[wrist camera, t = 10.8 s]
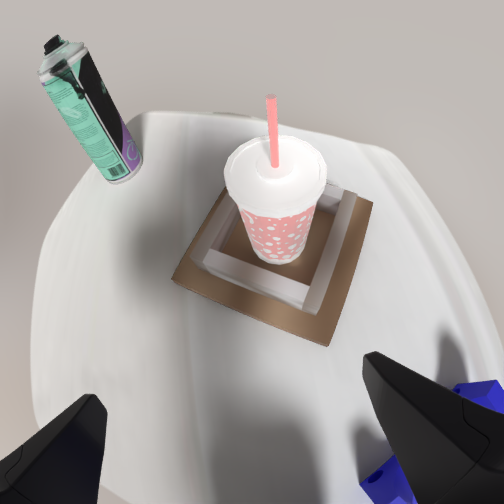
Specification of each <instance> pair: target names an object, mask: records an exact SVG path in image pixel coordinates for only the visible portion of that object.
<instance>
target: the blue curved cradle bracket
mask: <svg viewBox="0 0 504 504" xmlns="http://www.w3.org/2000/svg"><path fill="white" fill-rule="evenodd" d="M452 391H453V392H455V393H457V394H459V395H461V396H462V397H465V398H467V399H469V400H471V401H473V402H475V403H477V404H480V405H482V406H484V407H486V408H489V409H492V410H494V411H497V412H500V413H503V414H504V390H503V389H502V387H501V385H500V384H499V382H498V381H497V380H490V381H482V382H473V383H463V384H457V385H456V386H455V388H454V389H453V390H452ZM359 485H360V486H361V487H362V489H363V490H364V491H365V492H366V494H367V495H368V496H369V497H370V499H371V500H372V501H373V502H374V504H417V501H416V499H415V497H414V495H413V492H412V490H411V488H410V486H409V484H408V481H407V479H406V477H405V475H404V473H403V471H402V468H401V466H400V464H399V462H398V460H397V458H396V456H395V454H394V455H393V456H392V457H391V458H390V459H389V460H388V461H387V462H386V463H385V464H383V465H382V466H381V467H380V468H379V469H378V470H376V471H375V472H374V473H373V474H372V475H370V476H369V477H368V478H367V479H365V480H364V481H363V482H362V483H360V484H359Z"/></svg>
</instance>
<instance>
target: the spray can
mask: <svg viewBox="0 0 504 504" xmlns="http://www.w3.org/2000/svg"><path fill="white" fill-rule="evenodd" d="M44 48H45V53H44V54H45V55H44V57H43V58H44V59H45V60H44V61H43V63H42V65H41V68H40V70H39V71H38V72H37V74H38V75H39V76H40V81H41V83H42V85H43V86H44V88H45V90H46V91H47V93H48V95H49V96H50V98H51V100H52V101H53V103H54V104H55V106H56V108H57V109H58V111H59V112H60V113H61V115H62V117H63V118H64V120H65V122H66V123H67V125H68V126H69V127H70V129H71V131H72V132H73V134H74V135H75V137H76V138H77V139H78V141H79V142H80V144H81V145H82V147H83V148H84V149H85V151H86V152H87V154H88V155H89V157H90V158H91V160H92V161H93V162H94V164H95V165H96V166H97V168H98V169H99V171H100V172H101V173H102V175H103V176H104V177H105V179H106V180H107V181H108V182H109V183H111V184H121V183H123V182H126V181H127V180H129V179H131V178H132V177H133V176H134V175H135V174H136V173H137V172H138V171H139V169H140V168H141V166H142V162H143V159H142V156H141V154H140V152H139V150H138V148H137V146H136V145H135V143H134V141H133V139H132V137H131V135H130V133H129V132H128V130H127V128H126V126H125V124H124V122H123V121H122V118H121V116H120V114H119V112H118V110H117V109H116V107H115V105H114V103H113V101H112V99H111V97H110V95H109V93H108V91H107V89H106V87H105V85H104V83H103V81H102V79H101V77H100V74H99V72H98V70H97V68H96V66H95V64H94V62H93V60H92V58H91V56H90V53H89V51H88V49H87V48H86V47H84V43H83V42H80V43H69V42H68V40H67V41H64V40H61V38H60V36H59V35H56V36H54V37H53V38H52V39H50V40H49V41H48V42H47V43H46V44H45V45H44Z"/></svg>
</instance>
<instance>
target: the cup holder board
mask: <svg viewBox="0 0 504 504" xmlns="http://www.w3.org/2000/svg"><path fill="white" fill-rule="evenodd" d="M372 206H373V202H371V201H368V200H366V199H363V198H360V197H357V194H356V193H353V192H350V191H347V190H344V189H341V188H338V187H335V186H332V185H329V184H326V185H325V187H324V191H323V193H322V194H321V196H320V197H319V199H318V201H317V204H316V207H315V211H314V215H313V218H312V222H311V226H310V229H309V233H308V236H307V240H306V243H305V247H304V249H303V251H302V252H301V254H300V255H299V257H297V258H296V259H294V260H293V261H291V262H290V263H285V264H281V265H278V264H271V263H267V262H266V261H264V260H262V259H260V258H259V257H258V255H257V254H256V253H255V251H254V250H253V247H252V244H251V242H250V239H249V236H248V233H247V231H246V228H245V225H244V222H243V220H242V217H241V214H240V211H239V209H238V206H237V203H236V202H235V201H234V200H233V199H232V197H231V196H230V195H229V192H228V190H227V187H226V186H225V188H224V190H223V191H222V193H221V194H220V196H219V198H218V199H217V201H216V202H215V204H214V206H213V207H212V209H211V211H210V212H209V214H208V216H207V217H206V219H205V221H204V222H203V224H202V226H201V227H200V229H199V231H198V232H197V234H196V236H195V238H194V239H193V241H192V243H191V244H190V246H189V248H188V250H187V251H186V253H185V255H184V257H183V258H182V260H181V262H180V264H179V266H178V267H177V269H176V271H175V273H174V275H173V276H172V278H171V279H172V280H173V281H174V282H175V283H177V284H179V285H181V286H183V287H185V288H187V289H189V290H191V291H194V292H196V293H198V294H200V295H202V296H204V297H207V298H209V299H211V300H213V301H215V302H218V303H220V304H222V305H224V306H227V307H229V308H231V309H234V310H236V311H238V312H240V313H243V314H245V315H248V316H250V317H252V318H255V319H257V320H259V321H262V322H264V323H267V324H269V325H272V326H274V327H276V328H279V329H281V330H284V331H286V332H289V333H291V334H294V335H297V336H299V337H302V338H304V339H307V340H310V341H312V342H315V343H317V344H320V345H323V346H326V347H327V346H329V344H330V341H331V339H332V336H333V333H334V331H335V328H336V325H337V323H338V320H339V317H340V314H341V311H342V309H343V306H344V303H345V300H346V297H347V294H348V291H349V288H350V285H351V282H352V278H353V275H354V272H355V269H356V265H357V262H358V259H359V255H360V252H361V248H362V245H363V241H364V237H365V234H366V230H367V226H368V222H369V218H370V214H371V210H372Z"/></svg>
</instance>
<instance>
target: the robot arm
mask: <svg viewBox="0 0 504 504" xmlns="http://www.w3.org/2000/svg"><path fill="white" fill-rule="evenodd" d="M362 375H363V380H364V383H365V385H366V388H367V391H368V394H369V396H370V399H371V402H372V405H373V408H374V411H375V414H376V416H377V419H378V421H379V423H380V425H381V427H382V429H383V431H384V433H385V435H386V437H387V439H388V441H389V443H390V445H391V447H392V450H393V452H394V454H395V456H396V458H397V460H398V462H399V464H400V466H401V468H402V471H403V473H404V475H405V477H406V479H407V481H408V484H409V486H410V488H411V490H412V492H413V495H414V497H415V499H416V501H417V503H418V504H504V414H503V413H500V412H497V411H494V410H492V409H489V408H486V407H484V406H482V405H480V404H477V403H475V402H473V401H471V400H469V399H467V398H465V397H462V396H461V395H459V394H457V393H455V392H453V391H451V390H449V389H447V388H445V387H443V386H441V385H439V384H437V383H435V382H434V381H432V380H430V379H428V378H426V377H424V376H422V375H420V374H418V373H416V372H415V371H413V370H411V369H409V368H407V367H405V366H403V365H401V364H400V363H398V362H396V361H394V360H392V359H390V358H388V357H387V356H385V355H383V354H381V353H379V352H377V351H374V352H371V353H368V354H365V355H364V357H363V370H362ZM106 425H107V410H106V408H105V407H104V405H103V404H102V403H101V401H100V400H99V399H98V397H97V396H96V395H95V394H84V395H83V396H82V397H80V398H79V399H78V400H77V401H75V402H74V403H73V404H72V405H70V406H69V407H68V408H67V409H66V410H64V411H63V412H62V413H61V414H59V415H58V416H57V417H56V418H54V419H53V420H52V421H51V422H49V423H48V424H47V425H46V426H45V427H43V428H42V429H41V430H40V431H38V432H37V433H36V434H35V435H33V437H31V438H30V439H29V440H27V441H26V442H25V443H24V444H23V445H21V446H20V447H19V448H17V449H16V450H15V451H13V452H12V453H11V454H9V455H8V456H7V457H5V458H4V459H2V460H1V461H0V504H97V499H98V489H99V482H100V475H101V468H102V462H103V456H104V449H105V437H106Z"/></svg>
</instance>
